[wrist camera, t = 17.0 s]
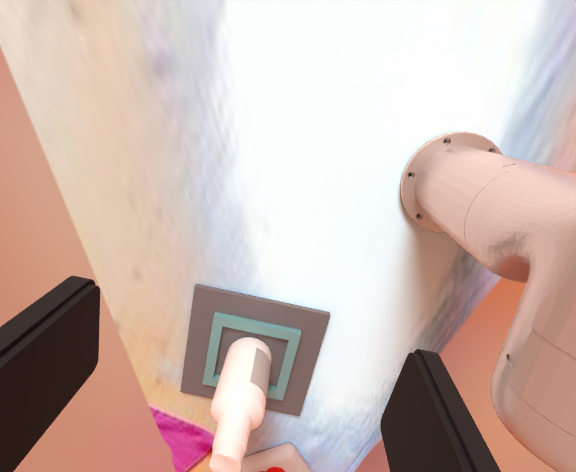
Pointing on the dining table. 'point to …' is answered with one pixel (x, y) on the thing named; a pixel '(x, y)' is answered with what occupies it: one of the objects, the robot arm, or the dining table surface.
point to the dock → (257, 324)
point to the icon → (275, 460)
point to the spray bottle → (239, 401)
